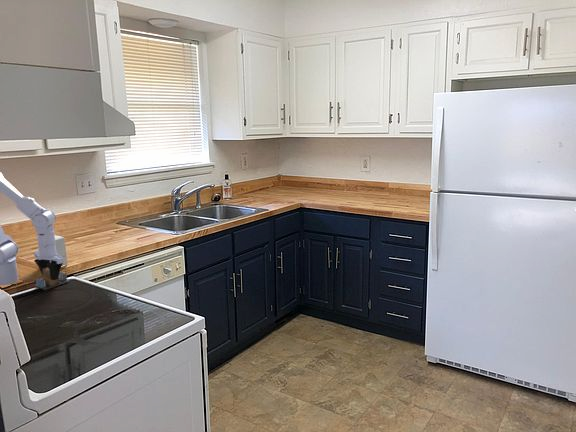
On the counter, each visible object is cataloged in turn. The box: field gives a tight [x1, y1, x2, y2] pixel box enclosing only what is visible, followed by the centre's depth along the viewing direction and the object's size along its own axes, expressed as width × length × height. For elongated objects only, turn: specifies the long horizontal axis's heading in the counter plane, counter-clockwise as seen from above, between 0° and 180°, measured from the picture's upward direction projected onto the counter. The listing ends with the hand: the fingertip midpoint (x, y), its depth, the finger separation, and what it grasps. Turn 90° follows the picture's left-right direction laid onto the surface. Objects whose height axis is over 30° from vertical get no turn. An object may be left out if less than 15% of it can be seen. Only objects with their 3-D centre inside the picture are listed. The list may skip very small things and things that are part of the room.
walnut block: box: [42, 267, 59, 286], centre depth 173 cm, size 3×4×6 cm
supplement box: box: [50, 234, 68, 266], centre depth 190 cm, size 7×7×13 cm
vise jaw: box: [35, 278, 45, 289], centre depth 170 cm, size 4×2×3 cm, turn 59°
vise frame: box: [34, 270, 71, 291], centre depth 174 cm, size 6×10×3 cm, turn 149°
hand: (50, 277), depth 174 cm, fingers open, 5 cm apart
